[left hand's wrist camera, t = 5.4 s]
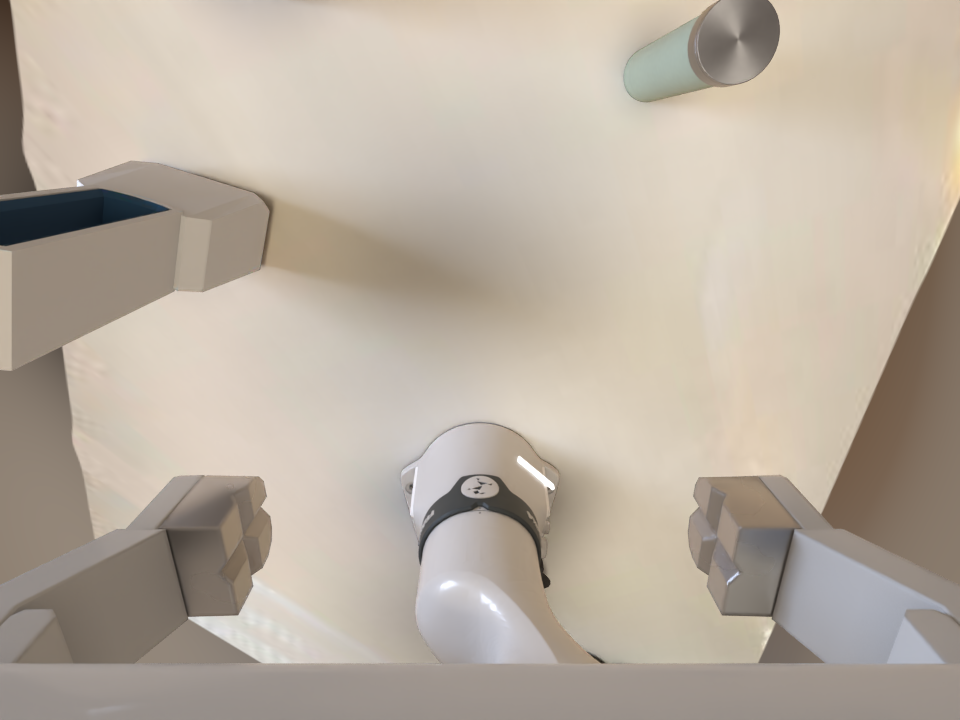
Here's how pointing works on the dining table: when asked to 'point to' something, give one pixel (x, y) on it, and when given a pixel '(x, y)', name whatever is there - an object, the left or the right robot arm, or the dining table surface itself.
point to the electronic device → (116, 250)
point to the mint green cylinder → (663, 68)
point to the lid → (733, 41)
